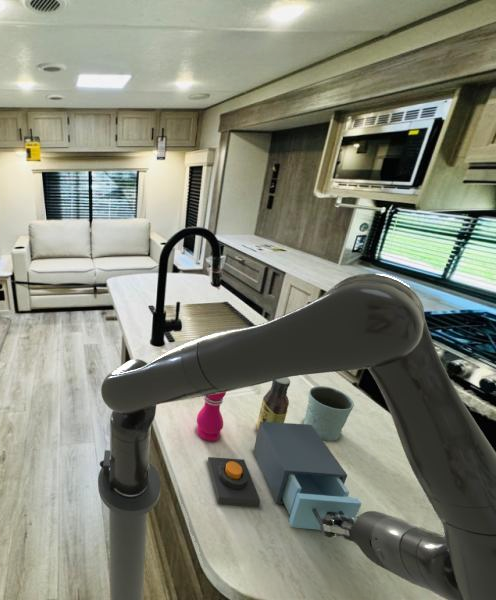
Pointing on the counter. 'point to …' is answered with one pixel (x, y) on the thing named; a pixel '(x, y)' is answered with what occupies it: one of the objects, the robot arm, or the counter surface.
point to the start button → (233, 470)
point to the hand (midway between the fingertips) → (331, 517)
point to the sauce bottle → (275, 403)
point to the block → (232, 484)
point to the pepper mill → (210, 417)
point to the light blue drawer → (316, 500)
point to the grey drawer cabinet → (292, 454)
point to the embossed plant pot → (328, 411)
